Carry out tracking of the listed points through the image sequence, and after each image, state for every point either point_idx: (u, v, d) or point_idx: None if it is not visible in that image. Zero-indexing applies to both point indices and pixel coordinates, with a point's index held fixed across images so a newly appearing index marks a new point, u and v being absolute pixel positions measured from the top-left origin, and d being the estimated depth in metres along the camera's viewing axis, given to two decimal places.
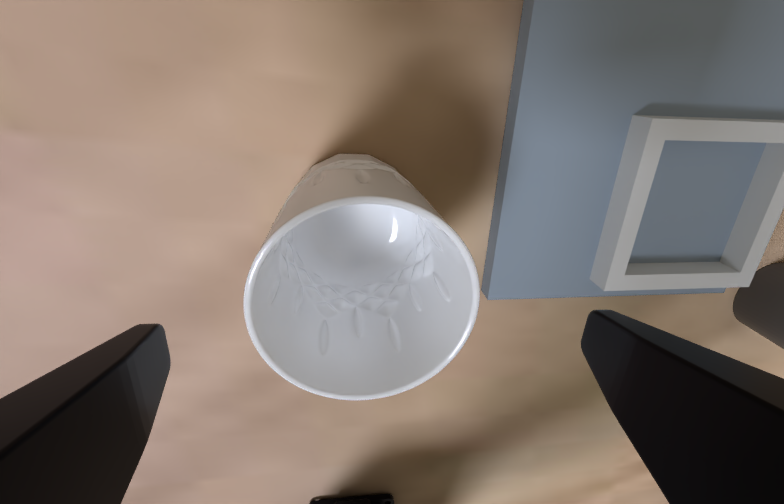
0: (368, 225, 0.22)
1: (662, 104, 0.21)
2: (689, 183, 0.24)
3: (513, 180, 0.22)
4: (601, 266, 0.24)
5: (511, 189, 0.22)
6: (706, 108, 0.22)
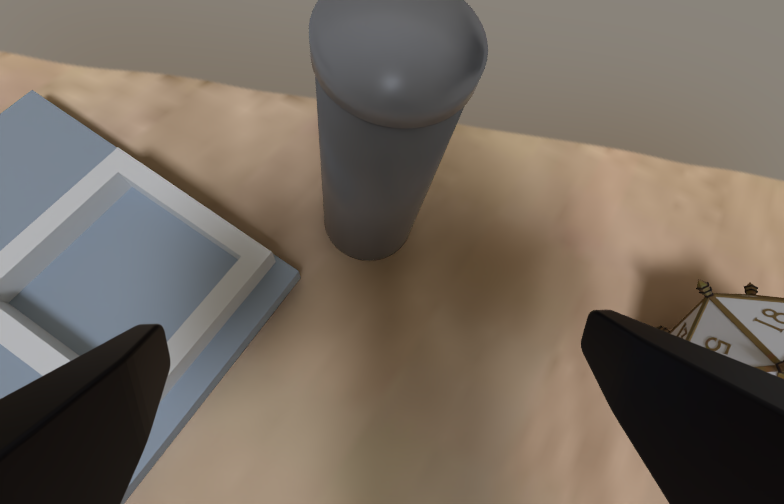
0: None
1: None
2: (111, 272, 0.20)
3: None
4: None
5: None
6: None
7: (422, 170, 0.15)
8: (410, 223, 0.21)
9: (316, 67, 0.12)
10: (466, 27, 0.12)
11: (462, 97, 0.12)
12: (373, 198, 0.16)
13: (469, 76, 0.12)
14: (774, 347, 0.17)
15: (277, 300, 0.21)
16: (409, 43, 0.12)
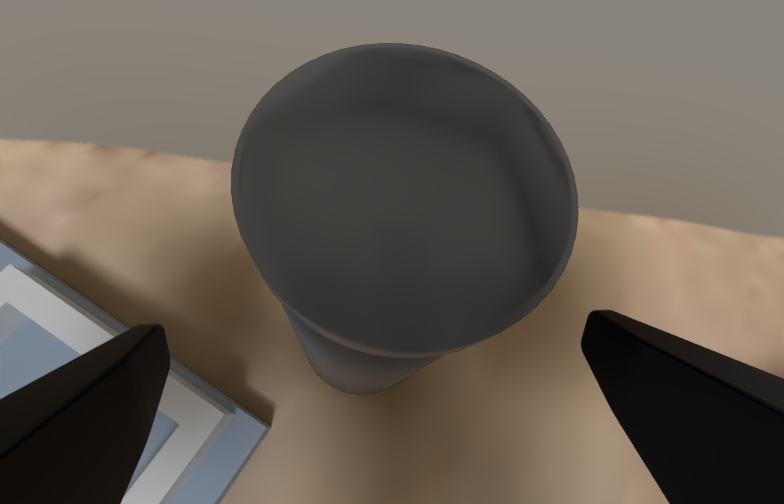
0: None
1: None
2: None
3: None
4: None
5: None
6: None
7: None
8: None
9: None
10: (533, 148, 0.07)
11: (539, 300, 0.06)
12: (368, 378, 0.10)
13: (550, 254, 0.06)
14: None
15: (236, 473, 0.15)
16: (430, 189, 0.06)
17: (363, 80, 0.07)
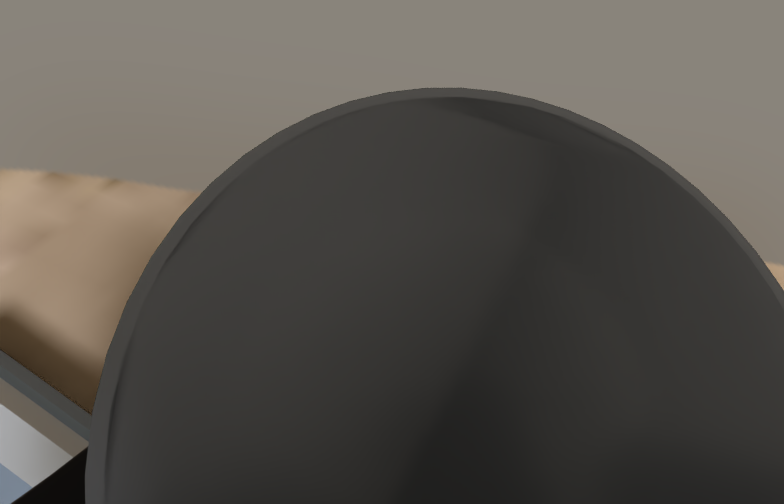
0: None
1: None
2: None
3: None
4: None
5: None
6: None
7: None
8: None
9: None
10: (734, 308, 0.03)
11: None
12: None
13: None
14: None
15: None
16: (544, 428, 0.03)
17: (391, 168, 0.03)
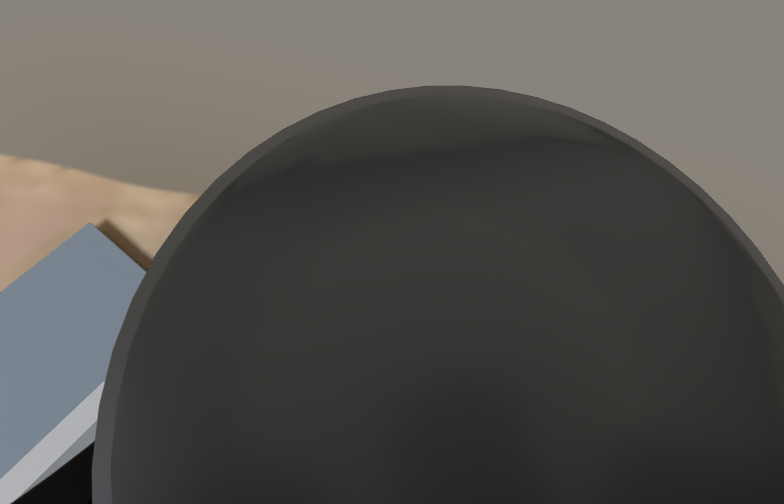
0: None
1: None
2: None
3: None
4: None
5: None
6: None
7: None
8: None
9: None
10: (737, 305, 0.03)
11: None
12: None
13: None
14: None
15: None
16: (548, 424, 0.03)
17: (395, 165, 0.03)
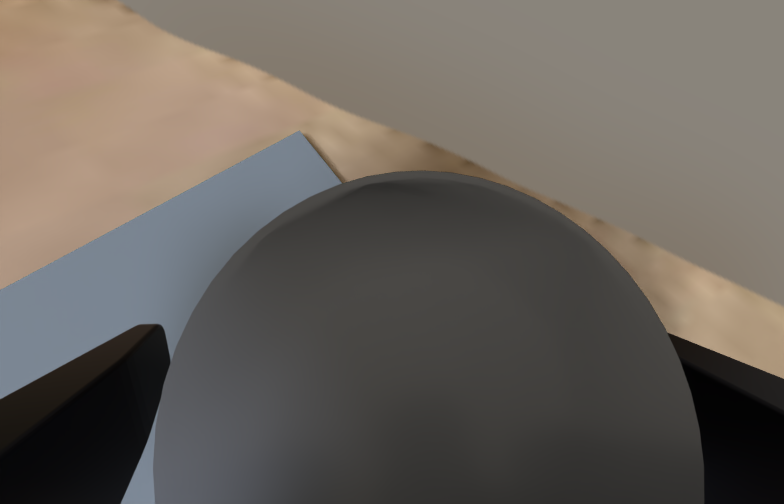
0: None
1: None
2: None
3: None
4: None
5: None
6: None
7: None
8: None
9: None
10: (626, 345, 0.04)
11: None
12: None
13: None
14: None
15: None
16: (476, 437, 0.04)
17: (368, 238, 0.04)
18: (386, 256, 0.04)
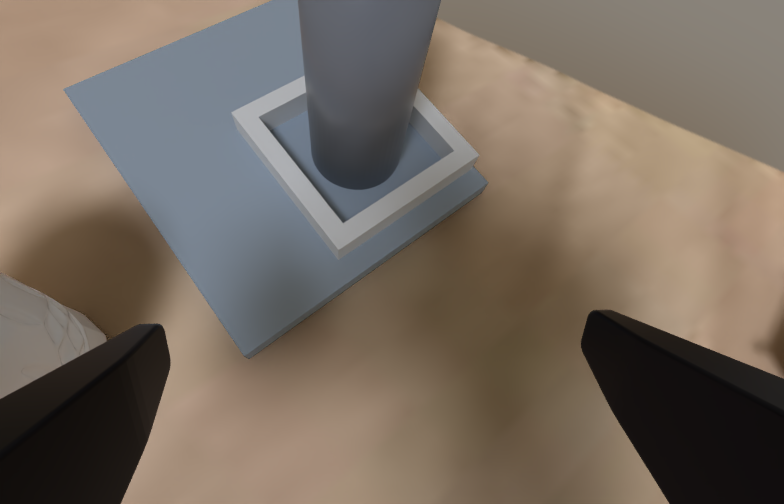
0: None
1: None
2: None
3: (171, 233, 0.21)
4: (324, 236, 0.21)
5: (175, 240, 0.21)
6: None
7: (405, 55, 0.15)
8: (398, 141, 0.20)
9: None
10: None
11: None
12: (358, 94, 0.16)
13: None
14: None
15: (464, 200, 0.24)
16: None
17: None
18: None
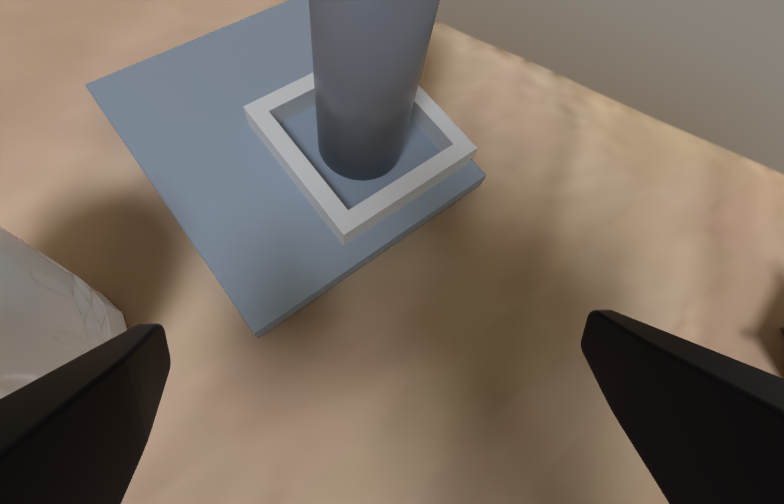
0: None
1: None
2: None
3: (185, 219, 0.22)
4: (330, 223, 0.22)
5: (190, 226, 0.22)
6: None
7: (407, 50, 0.16)
8: (400, 134, 0.22)
9: None
10: None
11: None
12: (363, 86, 0.17)
13: None
14: None
15: (463, 191, 0.25)
16: None
17: None
18: None
